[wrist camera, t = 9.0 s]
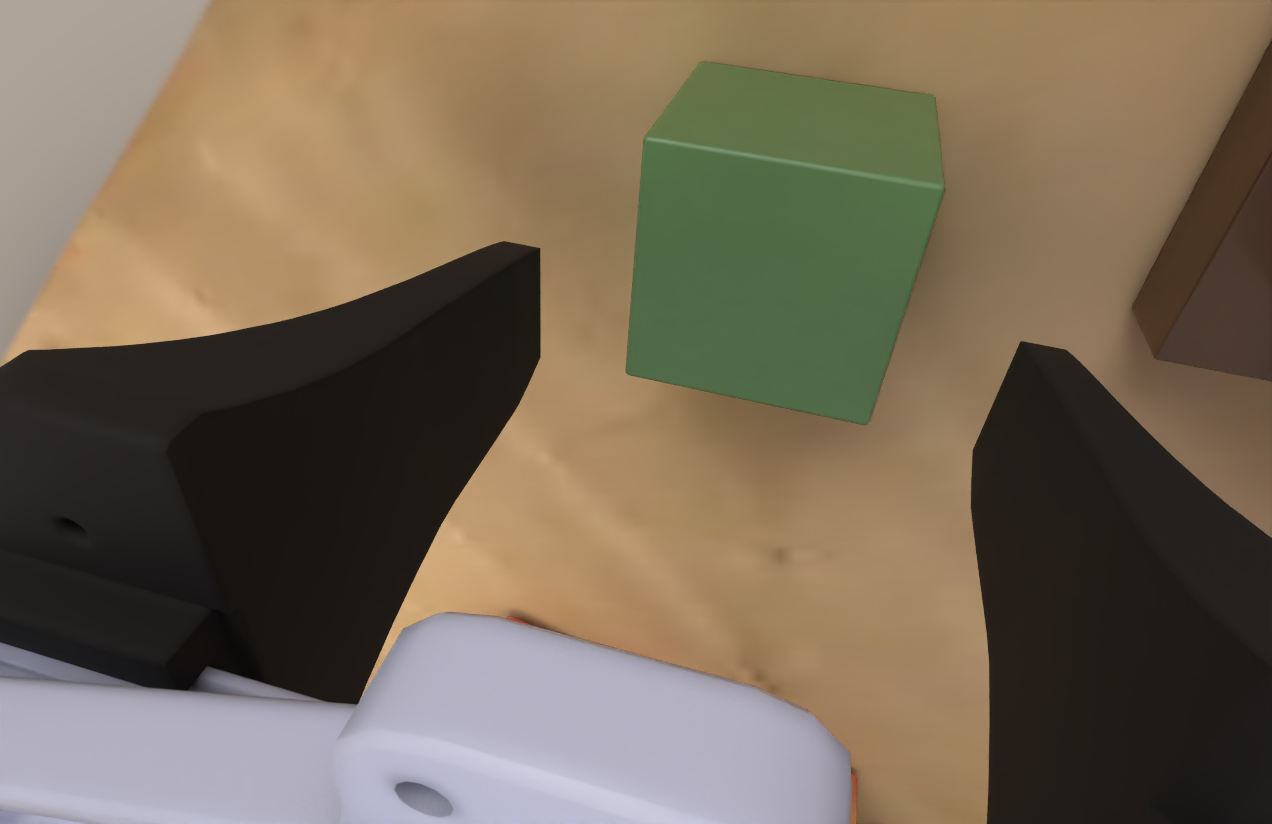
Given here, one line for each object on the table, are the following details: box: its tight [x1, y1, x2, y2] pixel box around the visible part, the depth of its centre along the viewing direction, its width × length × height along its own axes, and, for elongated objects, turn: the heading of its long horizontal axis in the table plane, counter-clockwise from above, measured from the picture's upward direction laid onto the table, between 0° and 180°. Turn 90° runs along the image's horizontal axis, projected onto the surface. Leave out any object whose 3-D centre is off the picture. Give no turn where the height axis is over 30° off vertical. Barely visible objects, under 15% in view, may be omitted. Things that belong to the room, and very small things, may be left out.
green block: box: [626, 62, 945, 425], centre depth 15 cm, size 5×5×5 cm
